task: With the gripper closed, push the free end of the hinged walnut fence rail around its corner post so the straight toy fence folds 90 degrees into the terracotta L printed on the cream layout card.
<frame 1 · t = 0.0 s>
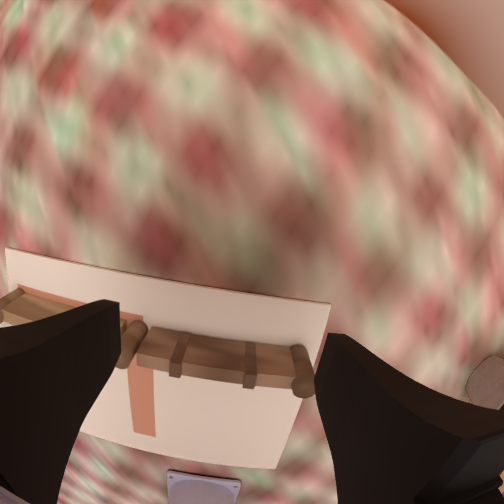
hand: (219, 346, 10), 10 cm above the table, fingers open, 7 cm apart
fence panel: (227, 362, 19), point 3 cm above the table, hinge at 0.0°
fence fixed: (139, 328, 20), resting on layout card
house plant: (474, 384, 24), on the table
layout card: (141, 382, 22), on the table
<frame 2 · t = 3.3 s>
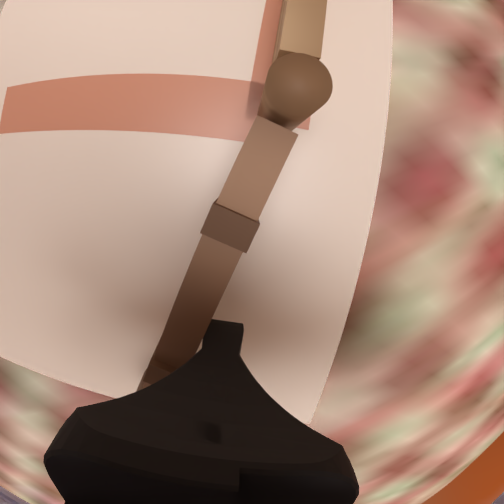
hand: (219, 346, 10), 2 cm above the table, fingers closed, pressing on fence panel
fence panel: (190, 311, 9), point 2 cm above the table, hinge at 16.1°, touching gripper
fence fixed: (278, 115, 10), resting on layout card
layout card: (127, 103, 10), on the table
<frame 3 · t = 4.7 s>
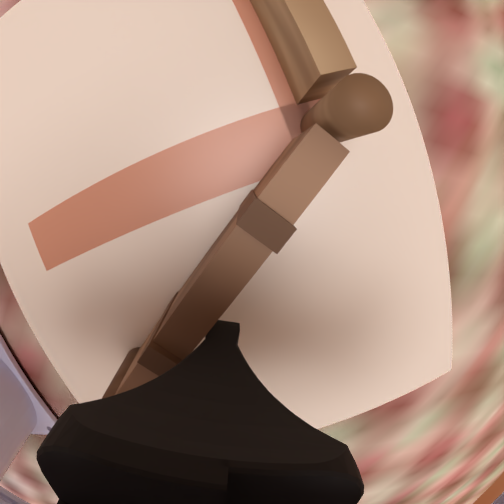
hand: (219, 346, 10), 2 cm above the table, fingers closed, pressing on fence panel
fence panel: (197, 300, 9), point 3 cm above the table, hinge at 56.9°, touching gripper
fence fixed: (320, 127, 10), resting on layout card
layout card: (171, 181, 10), on the table
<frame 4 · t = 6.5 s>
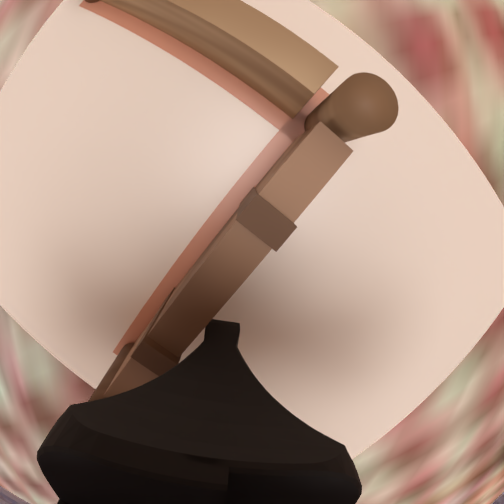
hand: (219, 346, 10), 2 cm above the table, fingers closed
fence panel: (194, 296, 9), point 3 cm above the table, hinge at 90.3°, touching gripper
fence fixed: (324, 127, 10), resting on layout card
layout card: (224, 248, 11), on the table
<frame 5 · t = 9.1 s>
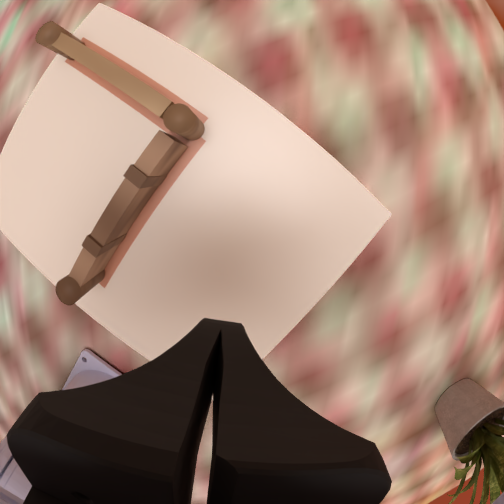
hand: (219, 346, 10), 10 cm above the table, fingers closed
fence panel: (116, 220, 16), point 2 cm above the table, hinge at 90.4°
fence fixed: (193, 129, 17), resting on layout card
house plant: (443, 403, 24), on the table
layout card: (141, 201, 18), on the table
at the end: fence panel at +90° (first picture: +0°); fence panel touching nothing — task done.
